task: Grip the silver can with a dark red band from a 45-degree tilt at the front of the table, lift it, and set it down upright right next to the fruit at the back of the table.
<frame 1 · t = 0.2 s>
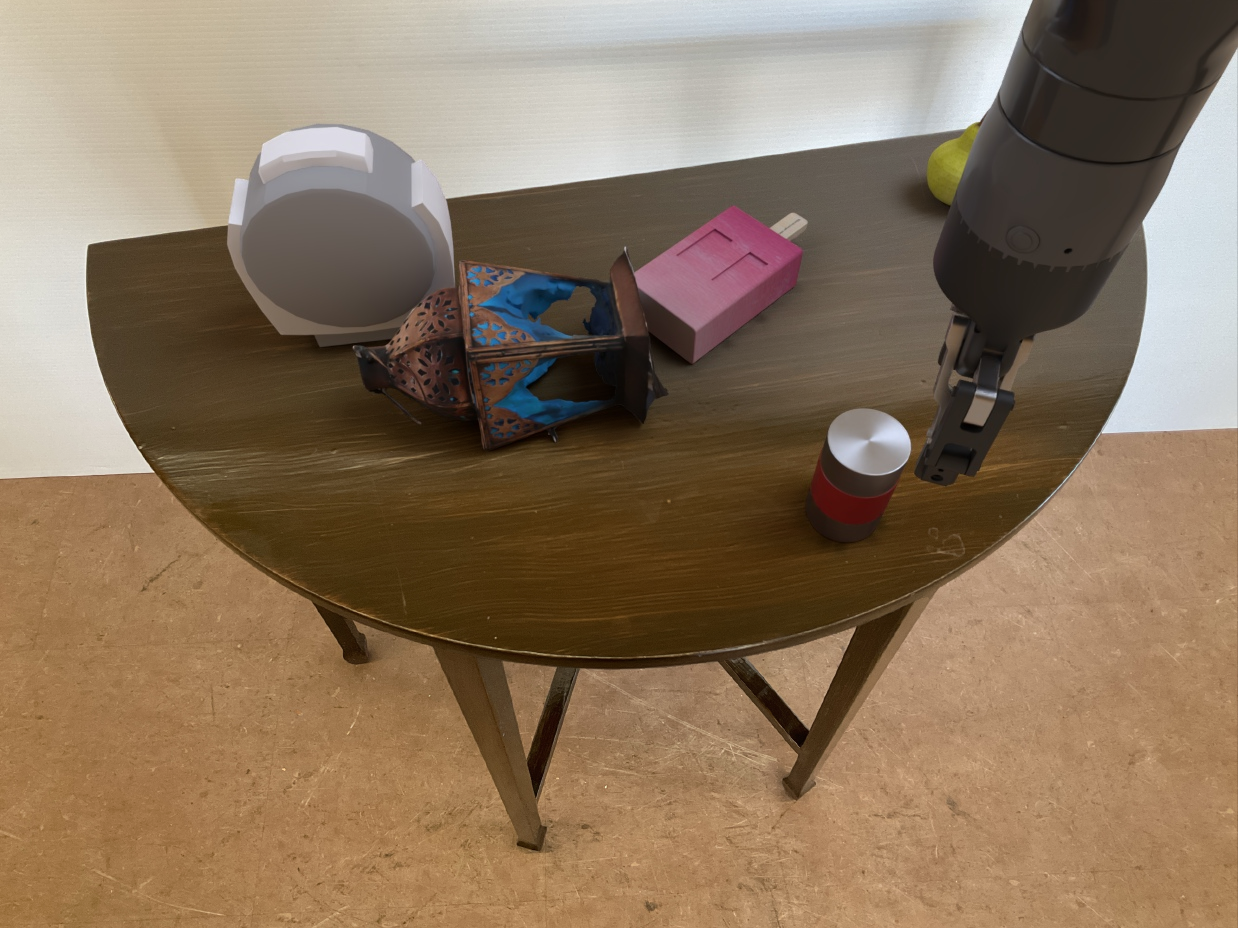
hand: (944, 418, 51), 20 cm above the table, tool pointing down, fingers open, 8 cm apart
popsicle: (729, 287, 85), on the table
lantern: (518, 393, 78), on the table
fruit: (950, 200, 92), on the table
can: (842, 510, 70), on the table
alarm clock: (376, 322, 83), on the table
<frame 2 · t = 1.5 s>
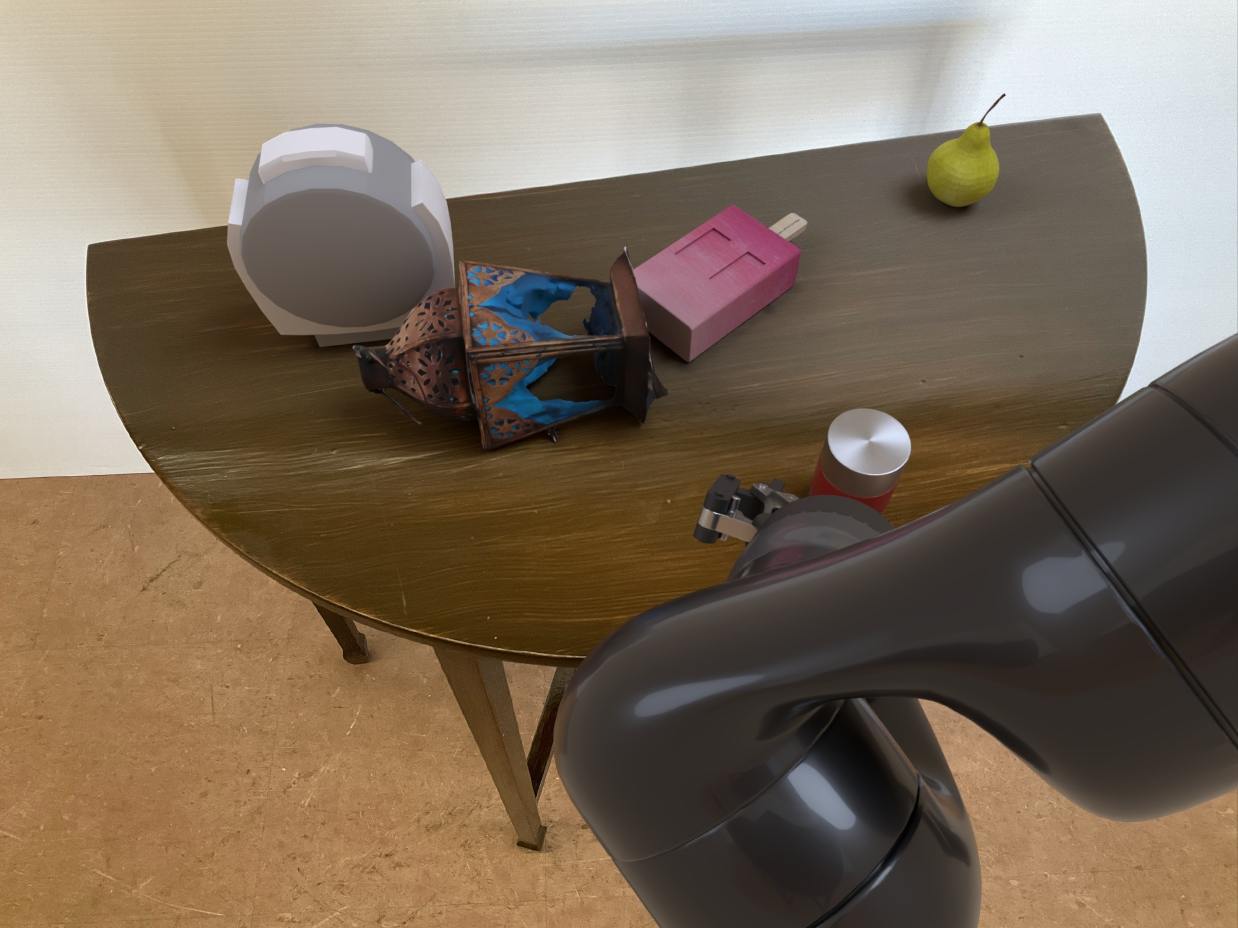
hand: (842, 520, 51), 16 cm above the table, tool tilted 45°, fingers open, 8 cm apart
nothing on the table moved.
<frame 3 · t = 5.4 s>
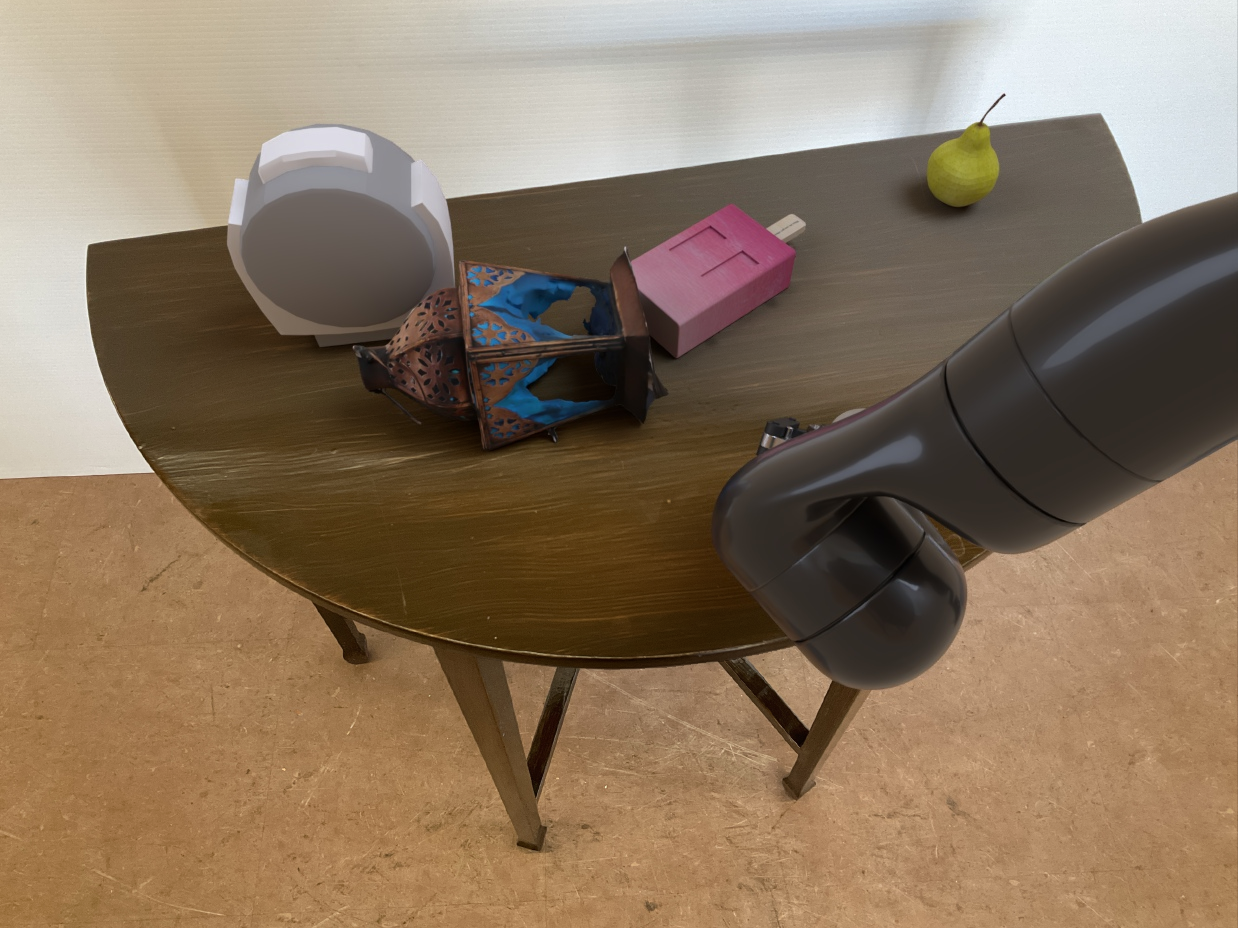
hand: (864, 451, 66), 6 cm above the table, tool tilted 45°, fingers closed on can, 6 cm apart
can: (842, 510, 70), on the table, touching gripper
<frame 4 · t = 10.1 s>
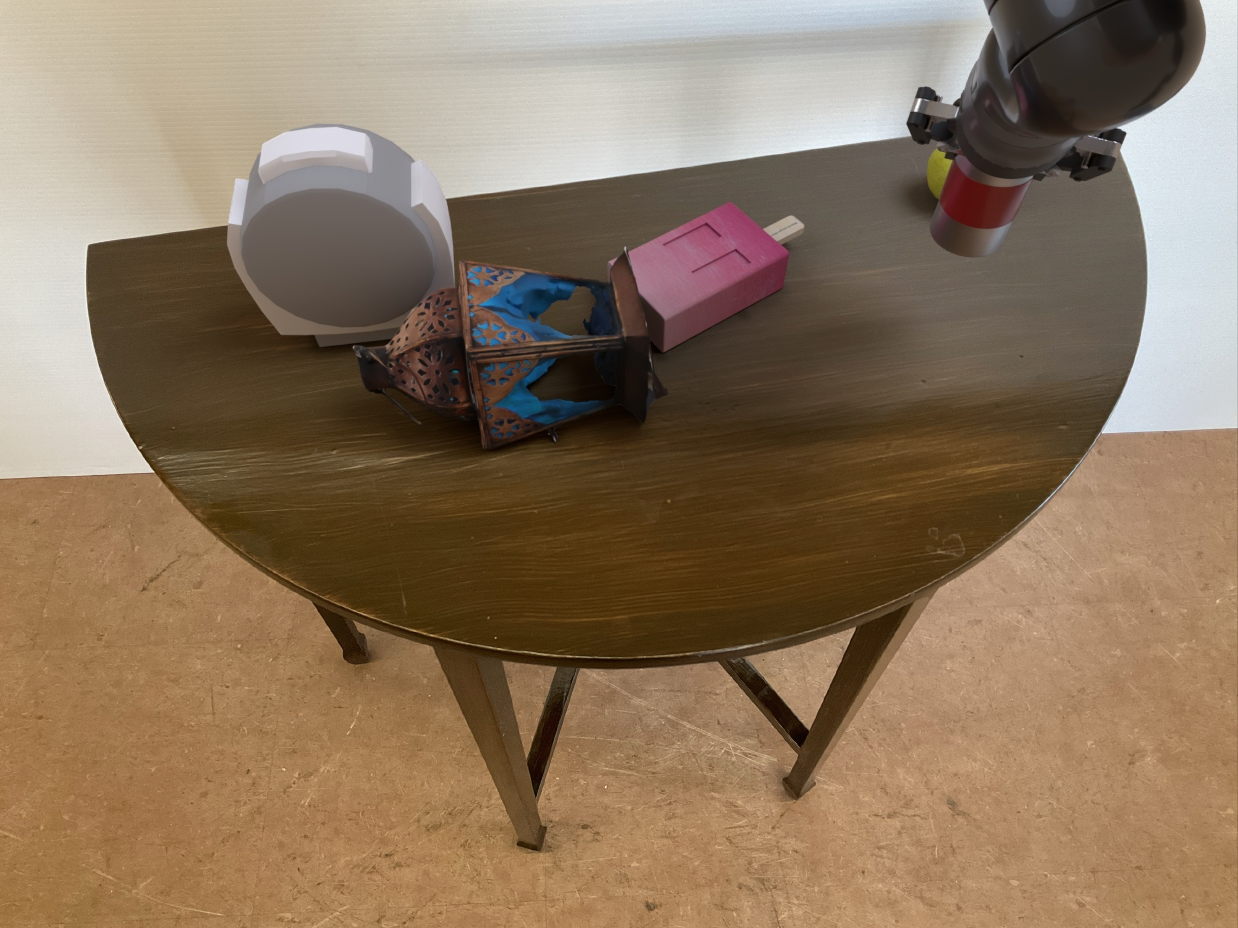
hand: (996, 156, 67), 18 cm above the table, tool tilted 45°, fingers closed on can, 6 cm apart
can: (966, 233, 71), point 12 cm above the table, touching gripper
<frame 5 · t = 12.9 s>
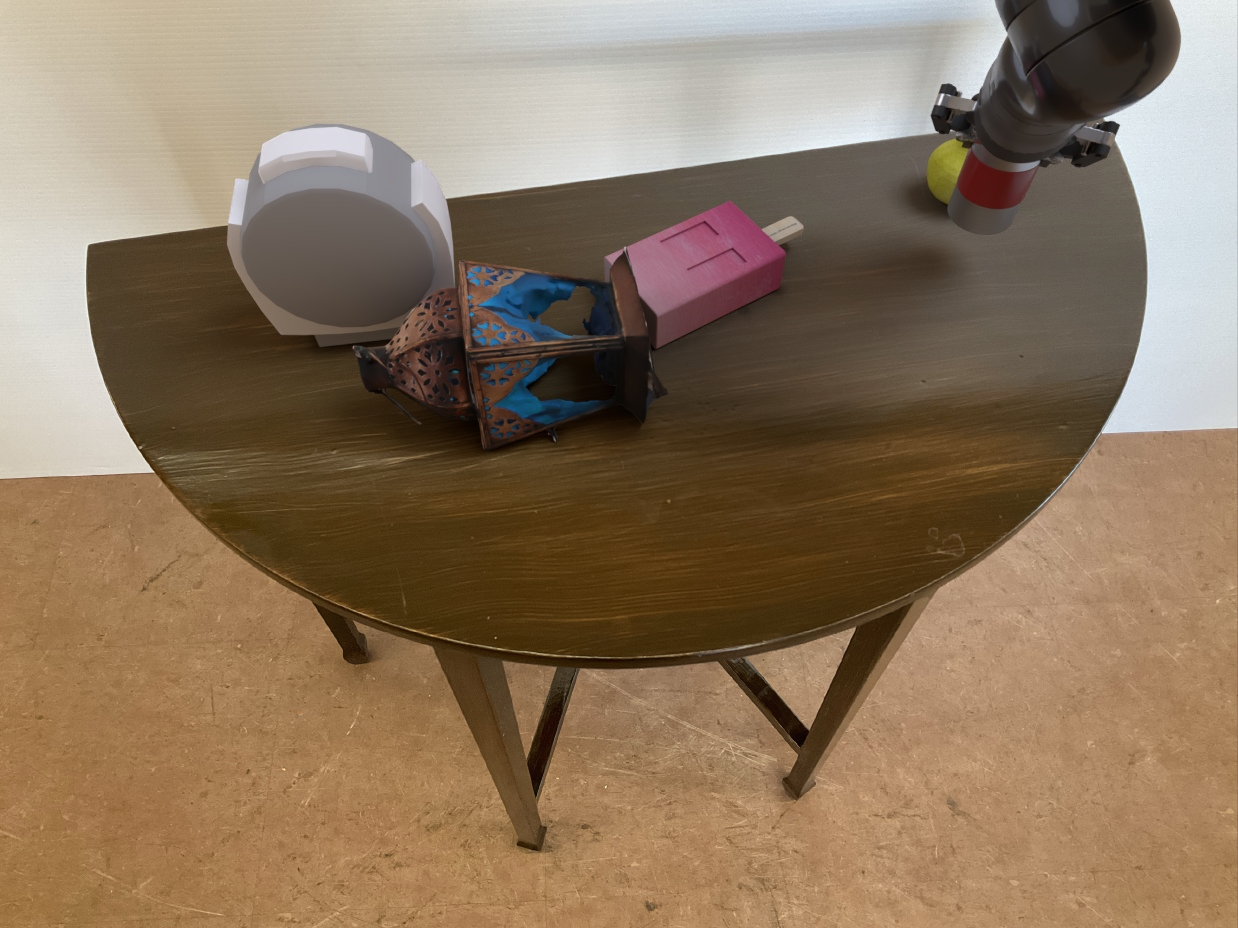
hand: (1007, 145, 76), 13 cm above the table, tool tilted 45°, fingers closed on can, 6 cm apart
can: (979, 213, 81), point 6 cm above the table, touching gripper
when the fingers open (6 cm above the table, at t = 15.2 s): can stays where it is, on the table.
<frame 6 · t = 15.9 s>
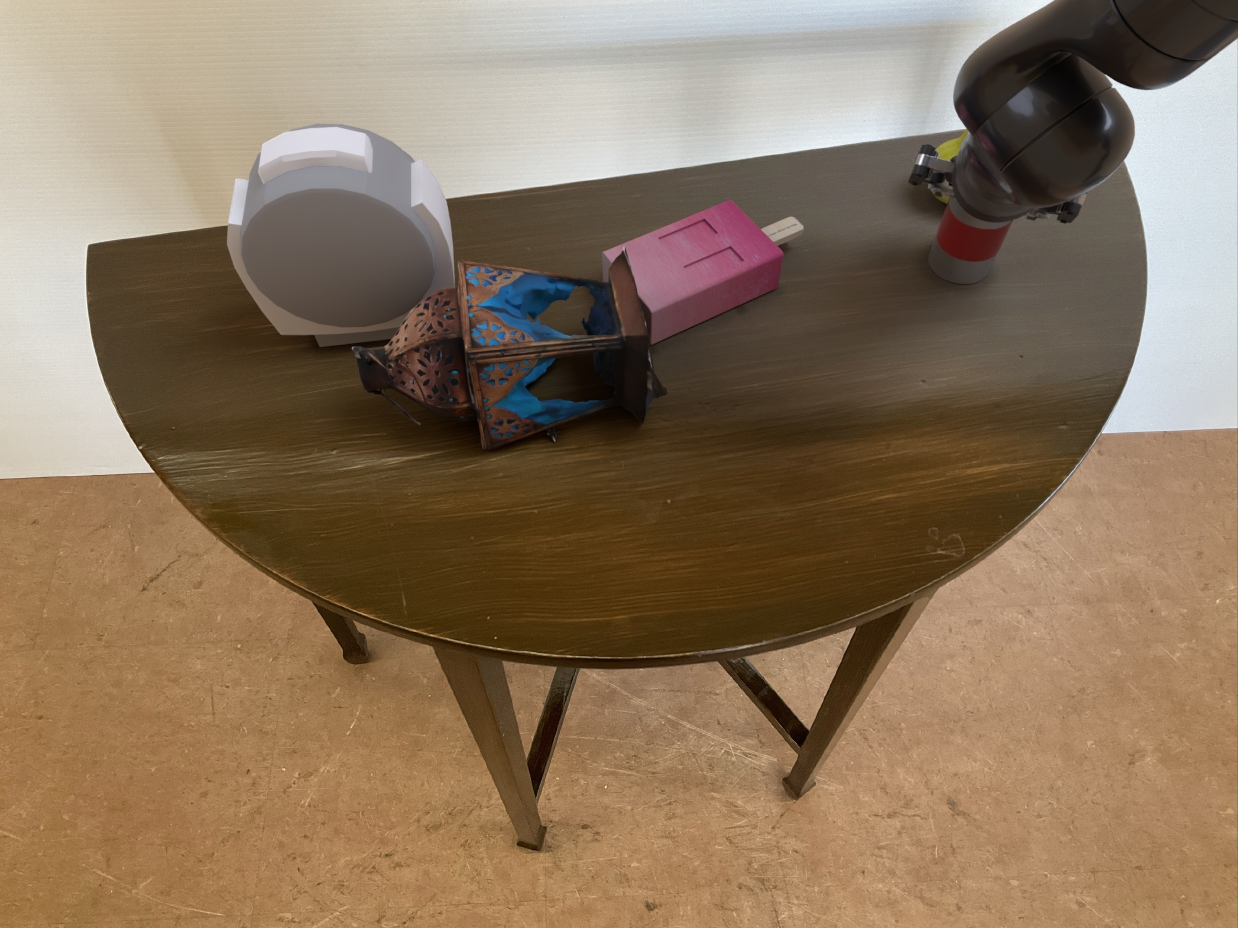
hand: (987, 197, 80), 7 cm above the table, tool tilted 45°, fingers open, 8 cm apart
can: (958, 263, 86), on the table
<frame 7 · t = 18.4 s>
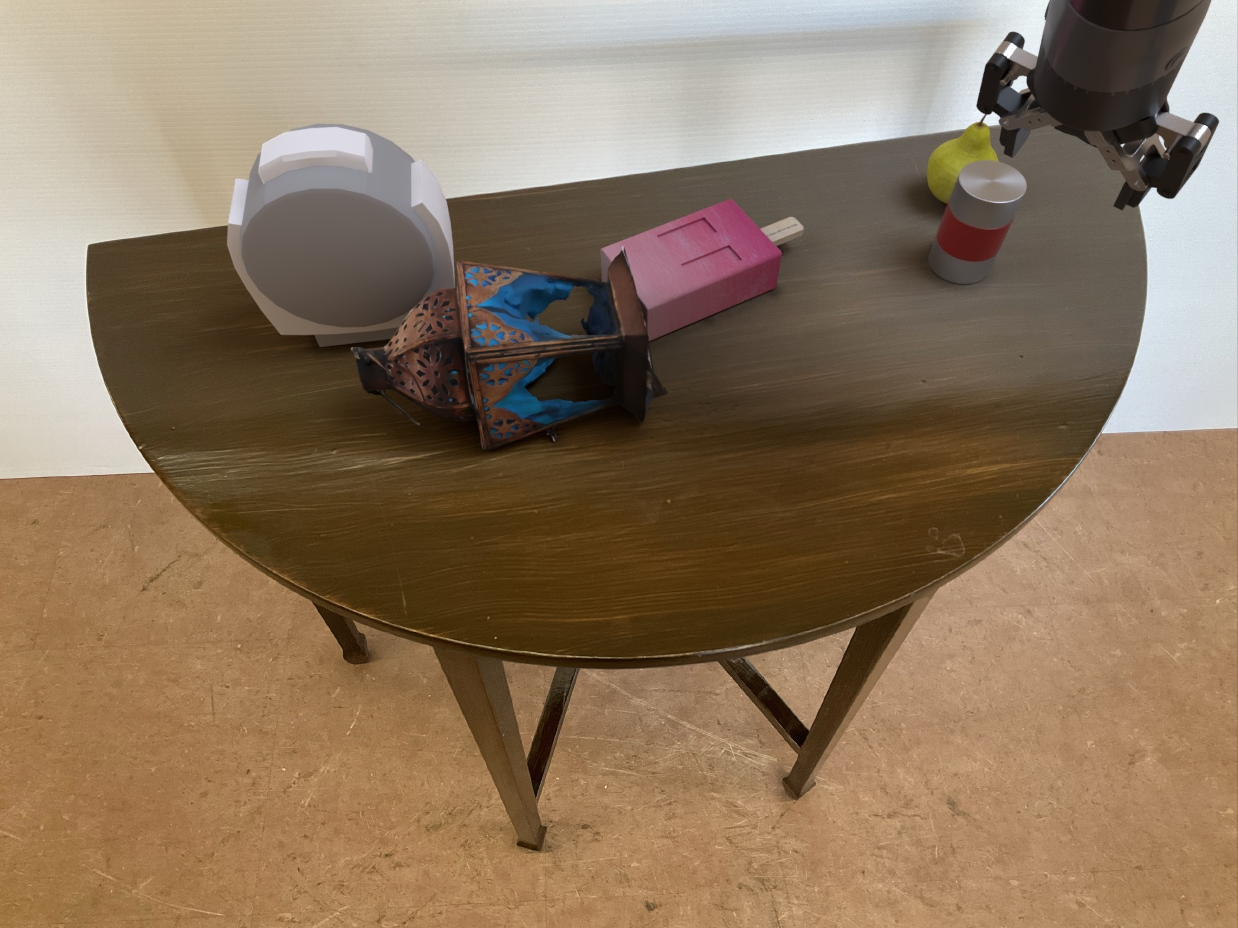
hand: (1069, 171, 62), 21 cm above the table, tool tilted 30°, fingers open, 8 cm apart
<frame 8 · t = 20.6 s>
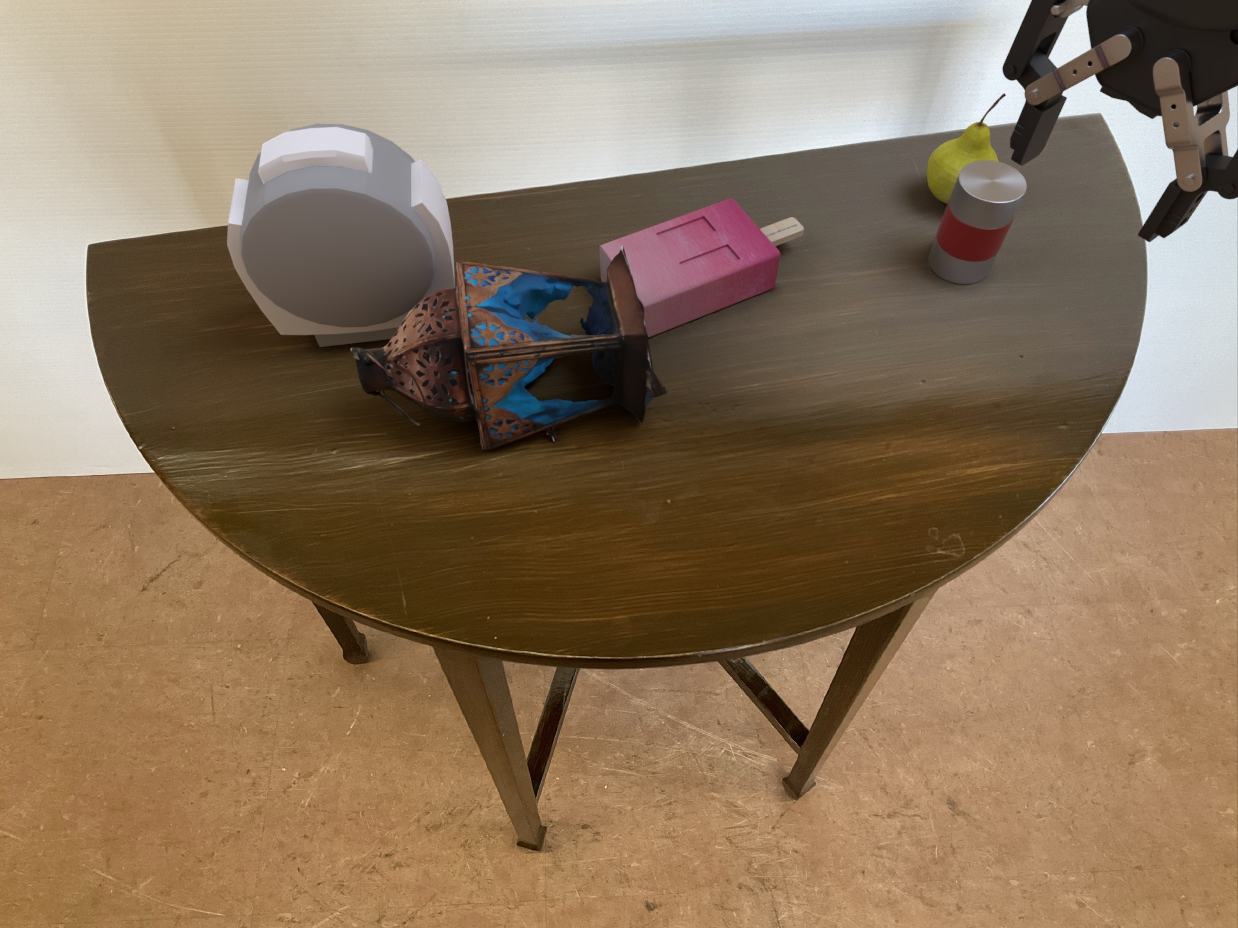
hand: (1085, 194, 49), 28 cm above the table, tool pointing down, fingers open, 8 cm apart
popsicle: (709, 277, 86), on the table, touching lantern
lantern: (516, 394, 78), on the table, touching popsicle
everything else where it was.
at the end: can 9.8 cm from the fruit (horizontally); can tilted 0°; the gripper is holding nothing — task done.
